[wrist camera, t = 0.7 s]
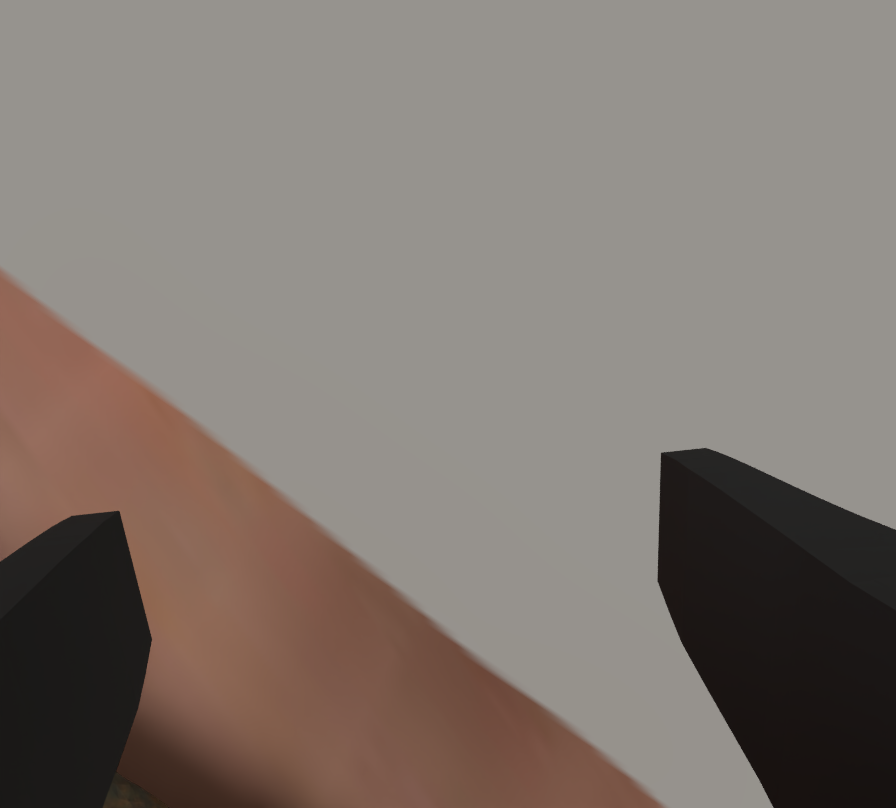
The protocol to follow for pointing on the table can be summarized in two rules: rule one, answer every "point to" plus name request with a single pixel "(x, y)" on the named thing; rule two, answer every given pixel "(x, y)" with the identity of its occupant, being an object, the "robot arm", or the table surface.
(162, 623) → the table surface
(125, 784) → the brown rough log
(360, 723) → the table surface
